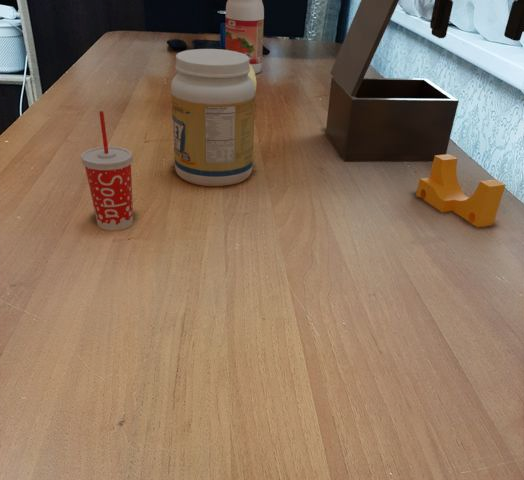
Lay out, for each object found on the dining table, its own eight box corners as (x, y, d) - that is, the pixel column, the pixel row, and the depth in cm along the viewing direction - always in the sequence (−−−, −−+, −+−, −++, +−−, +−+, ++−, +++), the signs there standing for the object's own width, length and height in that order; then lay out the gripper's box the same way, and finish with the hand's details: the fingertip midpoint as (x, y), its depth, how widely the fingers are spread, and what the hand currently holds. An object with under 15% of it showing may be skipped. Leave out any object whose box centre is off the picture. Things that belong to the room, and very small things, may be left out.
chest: (415, 133, 111) (426, 78, 105) (444, 161, 99) (459, 100, 93) (325, 133, 109) (331, 77, 102) (344, 161, 97) (352, 99, 91)
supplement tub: (167, 164, 92) (159, 48, 82) (238, 157, 96) (239, 46, 86) (186, 193, 83) (181, 67, 73) (264, 184, 87) (269, 63, 77)
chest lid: (383, -41, 92) (356, -55, 91) (414, -33, 81) (384, -49, 79) (333, 75, 102) (309, 64, 101) (354, 97, 91) (327, 85, 89)
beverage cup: (84, 230, 73) (65, 116, 64) (101, 211, 77) (85, 102, 69) (130, 235, 72) (117, 121, 64) (145, 215, 77) (135, 106, 68)
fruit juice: (269, 72, 147) (275, -61, 130) (241, 77, 142) (244, -61, 125) (245, 65, 153) (248, -64, 136) (218, 69, 148) (217, -64, 130)
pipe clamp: (415, 199, 85) (424, 156, 81) (439, 196, 86) (449, 153, 83) (465, 234, 76) (478, 188, 72) (491, 230, 78) (505, 184, 74)
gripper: (455, -153, 56) (418, 41, 67) (615, -141, 58) (555, 45, 69) (429, -148, 62) (398, 30, 73) (575, -137, 64) (525, 34, 75)
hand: (475, 37), depth 71 cm, fingers open, 9 cm apart
